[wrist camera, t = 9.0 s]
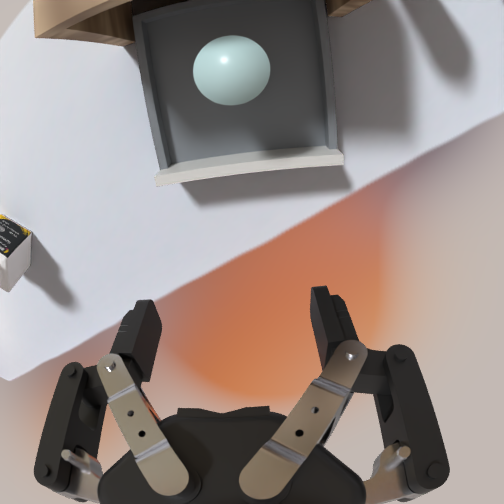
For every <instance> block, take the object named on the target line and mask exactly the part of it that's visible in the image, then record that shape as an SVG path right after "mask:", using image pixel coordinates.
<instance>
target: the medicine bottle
mask: <svg viewBox="0 0 504 504" xmlns="http://www.w3.org/2000/svg"><path fill="white" fill-rule="evenodd" d="M31 238H32V232H31V231H30V230H28V229H26V228H24V227H23V226H21V225H19V224H17V223H16V222H14V221H12V220H11V219H9V218H7V217H6V216H4V215H2V214H1V215H0V288H2V289H3V290H5V291H6V292H10V291H11V289H12V288H13V287H14V285H15V284H16V283H17V282H18V280H19V279H20V278H21V276H22V275H23V274H24V273H25V271H26V270H27V269H28V268H29V267H30V265H31Z"/></svg>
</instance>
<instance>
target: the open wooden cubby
mask: <svg viewBox="0 0 504 504" xmlns="http://www.w3.org/2000/svg"><path fill="white" fill-rule="evenodd" d="M131 1H132V0H33V9H34V31H35V38H51V39H67V40H79V41H88V42H96V43H104V44H111V45H117V46H126V45H129V44H132V43H135V35H134V28H133V20H132V16H133V14H132V5H131ZM325 1H326V7H327V14H328V16H336V17H343V16H345V15H346V14H348V13H350V12H352V11H354V10H355V9H357V8H359V7H361V6H363V5H364V4H366V3H368V2H370V1H372V0H325Z"/></svg>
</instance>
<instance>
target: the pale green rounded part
mask: <svg viewBox="0 0 504 504" xmlns="http://www.w3.org/2000/svg"><path fill="white" fill-rule="evenodd" d="M193 76H194V81H195V83H196V85H197V87H198V89H199V90H200V92H201V93H202V94H203V95H204V96H205V97H207V98H208V99H210V100H211V101H213V102H215V103H218V104H222V105H239V104H243V103H246V102H248V101H251V100H252V99H254V98H255V97H257V96H258V95H259V94H260V93H261V92H262V91H263V89H264V88H265V86H266V85H267V83H268V80H269V77H270V62H269V59H268V56H267V55H266V53H265V51H264V50H263V49H262V48H261V46H260V45H258V44H257V43H256V42H254V41H253V40H251V39H248V38H246V37H242V36H235V35H230V36H223V37H220V38H217V39H215V40H212V41H211V42H209V43H208V44H207V45H205V46H204V47H203V48H202V49H201V51H200V52H199V53H198V55H197V57H196V59H195V62H194V66H193Z"/></svg>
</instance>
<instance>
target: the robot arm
mask: <svg viewBox="0 0 504 504" xmlns="http://www.w3.org/2000/svg"><path fill="white" fill-rule="evenodd" d="M310 316H311V322H312V327H313V331H314V335H315V339H316V343H317V348H318V352H319V357H320V361H321V366H322V373H321V375H320V376H319V377H318V379H314V380H313V381H312V383H311V384H310V385H309V387H308V388H307V390H306V391H305V393H304V394H303V396H302V397H301V398H300V400H299V401H298V403H297V404H296V406H295V407H294V408H293V410H292V411H291V412H290V414H289V415H288V417H287V416H285V415H282V414H279V413H275V412H270V409H269V406H261V407H246V408H242V409H238V410H235V411H231V412H227V413H217V412H212V411H208V410H204V409H199V408H178V412H177V414H176V415H172V416H169V417H167V418H165V419H163V420H161V419H160V418H159V416H158V415H157V413H156V412H155V410H154V408H153V407H152V405H151V403H150V402H149V400H148V399H147V397H146V395H145V393H144V392H143V390H142V388H141V383H142V382H149V381H150V378H151V373H152V368H153V365H154V360H155V356H156V352H157V348H158V343H159V340H160V336H161V332H162V323H161V320H160V317H159V315H158V312H157V310H156V307H155V305H154V302H153V301H152V300H138V301H137V302H136V305H135V307H134V310H129V312H128V313H127V314H126V315H125V316H124V317H123V320H122V322H121V326H120V328H119V330H118V333H117V336H116V338H115V341H114V343H113V346H112V349H111V351H110V354H107V355H105V356H103V357H102V358H101V359H100V360H99V362H98V364H97V365H95V366H91V367H86V368H83V366H82V365H81V364H80V363H78V362H72V363H69V364H67V365H66V366H65V367H64V368H63V370H62V372H61V375H60V377H59V380H58V383H57V386H56V389H55V392H54V395H53V398H52V401H51V405H50V408H49V411H48V414H47V418H46V422H45V425H44V429H43V432H42V436H41V440H40V444H39V448H38V452H37V457H36V462H35V466H34V476H35V478H36V480H37V481H38V482H39V483H40V484H41V485H43V486H46V487H47V488H49V489H51V490H52V491H54V492H56V493H58V494H60V495H63V496H65V497H67V498H71V499H74V500H76V501H79V502H86V501H92V502H96V503H100V504H383V503H387V502H391V501H395V500H398V501H400V502H407V501H410V500H413V499H415V498H417V497H419V496H421V495H424V494H426V493H428V492H430V491H432V490H434V489H436V488H438V487H440V486H441V485H443V484H444V482H445V481H446V480H447V478H448V476H449V472H450V467H449V463H448V459H447V454H446V450H445V447H444V443H443V439H442V436H441V432H440V428H439V425H438V421H437V418H436V415H435V412H434V408H433V405H432V402H431V399H430V396H429V393H428V391H427V387H426V384H425V381H424V379H423V376H422V373H421V370H420V368H419V365H418V362H417V360H416V357H415V354H414V352H413V351H412V350H411V349H410V348H409V347H407V346H405V345H400V344H398V345H393V346H391V347H390V348H389V349H388V350H387V351H376V350H370V349H368V348H366V347H365V345H364V344H363V343H361V342H360V341H359V339H358V337H357V334H356V331H355V328H354V326H353V323H352V320H351V317H350V315H349V312H348V310H347V307H346V304H345V302H344V300H343V299H342V298H341V297H340V296H339V295H330V294H329V291H328V288H327V286H318V287H312V288H311V303H310ZM354 392H357V393H367V394H373V396H374V400H375V405H376V409H377V413H378V418H379V423H380V428H381V433H382V438H383V443H384V450H383V452H382V453H381V454H380V455H379V456H378V457H377V458H376V459H375V461H374V464H373V473H372V476H371V477H370V479H369V480H366V481H362V479H361V478H360V477H359V476H358V475H357V474H356V473H355V472H353V471H352V470H351V469H350V468H349V467H347V466H346V465H345V464H344V463H342V462H341V461H340V460H339V459H338V458H336V457H335V456H334V455H333V454H332V453H330V452H329V451H328V450H326V448H324V446H325V444H326V442H327V441H328V439H329V437H330V436H331V434H332V433H333V431H334V429H335V427H336V425H337V423H338V421H339V419H340V417H341V416H342V414H343V412H344V410H345V409H346V407H347V405H348V403H349V401H350V399H351V398H352V396H353V394H354ZM107 404H109V407H110V409H111V411H112V413H113V415H114V417H115V420H116V422H117V423H118V426H119V428H120V429H121V432H122V433H123V436H124V438H125V440H126V441H127V443H128V445H129V447H130V450H129V451H128V452H127V453H126V454H125V455H124V456H123V457H122V458H121V459H120V460H118V461H117V462H116V463H115V464H114V465H113V466H112V467H111V468H110V469H108V470H107V471H106V472H105V473H104V474H103V472H102V468H101V464H100V463H99V461H98V460H97V454H98V448H99V442H100V437H101V431H102V425H103V421H104V416H105V411H106V406H107Z"/></svg>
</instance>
